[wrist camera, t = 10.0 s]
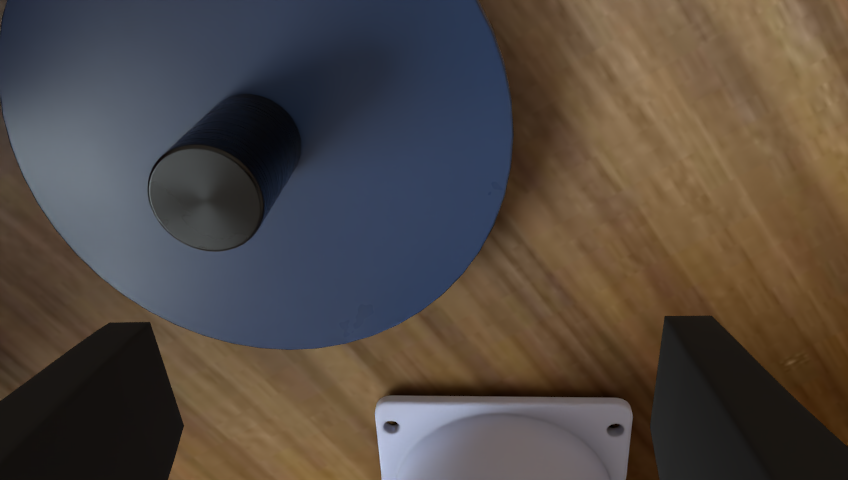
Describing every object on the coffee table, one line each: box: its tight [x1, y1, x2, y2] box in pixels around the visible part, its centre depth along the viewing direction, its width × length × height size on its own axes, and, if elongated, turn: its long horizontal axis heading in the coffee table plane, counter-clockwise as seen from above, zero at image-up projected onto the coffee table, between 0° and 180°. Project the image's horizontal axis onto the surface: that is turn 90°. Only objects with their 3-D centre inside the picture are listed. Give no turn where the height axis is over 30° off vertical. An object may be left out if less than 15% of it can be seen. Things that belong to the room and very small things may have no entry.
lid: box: [0, 0, 514, 350], centre depth 17 cm, size 13×13×5 cm
